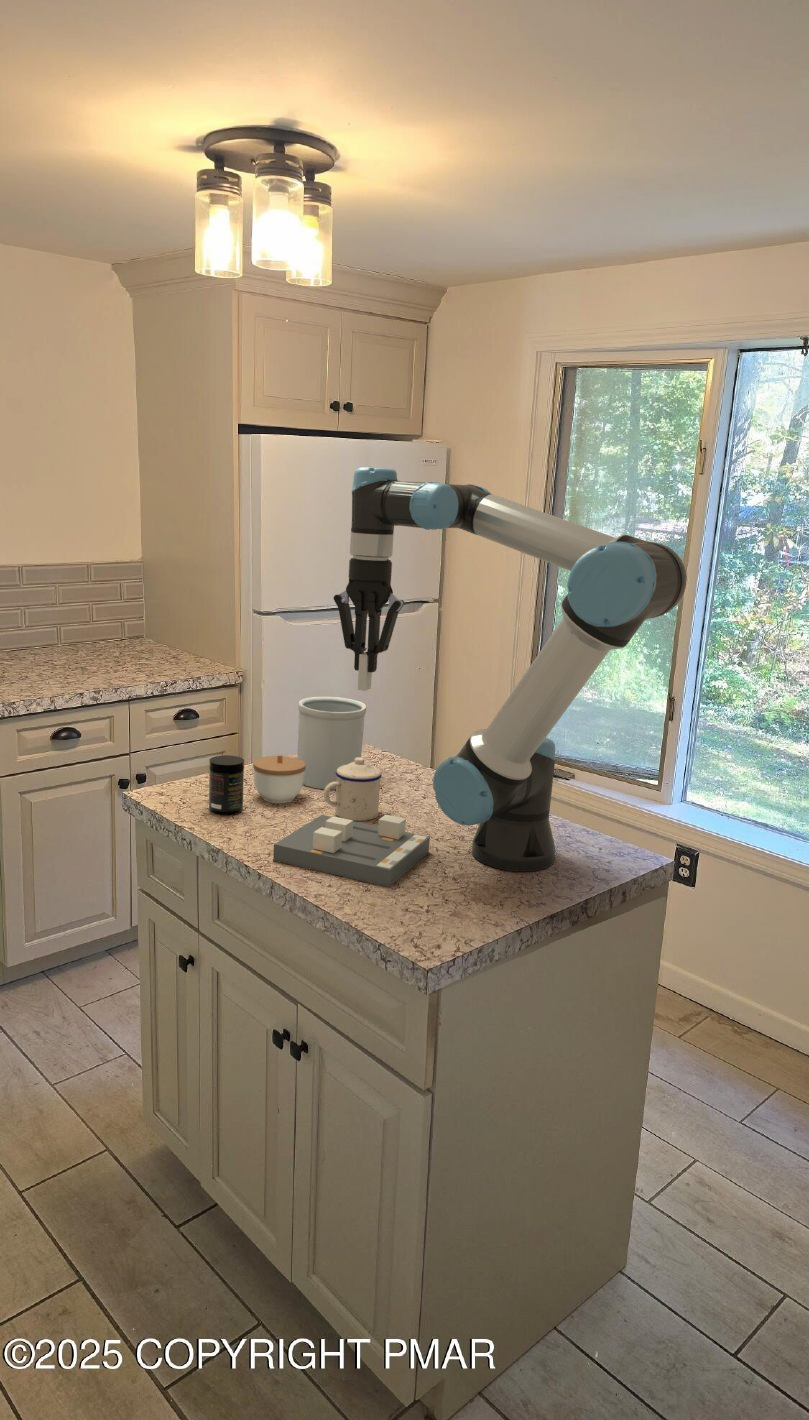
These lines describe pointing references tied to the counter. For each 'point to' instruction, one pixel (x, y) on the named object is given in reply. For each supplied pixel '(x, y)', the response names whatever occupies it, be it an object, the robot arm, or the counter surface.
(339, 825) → the middle switch
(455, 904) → the counter surface
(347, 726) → the utensil holder
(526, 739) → the robot arm
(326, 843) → the front switch
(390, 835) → the back switch
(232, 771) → the supplement container
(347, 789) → the teacup with lid
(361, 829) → the switch panel
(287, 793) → the lidded jar
